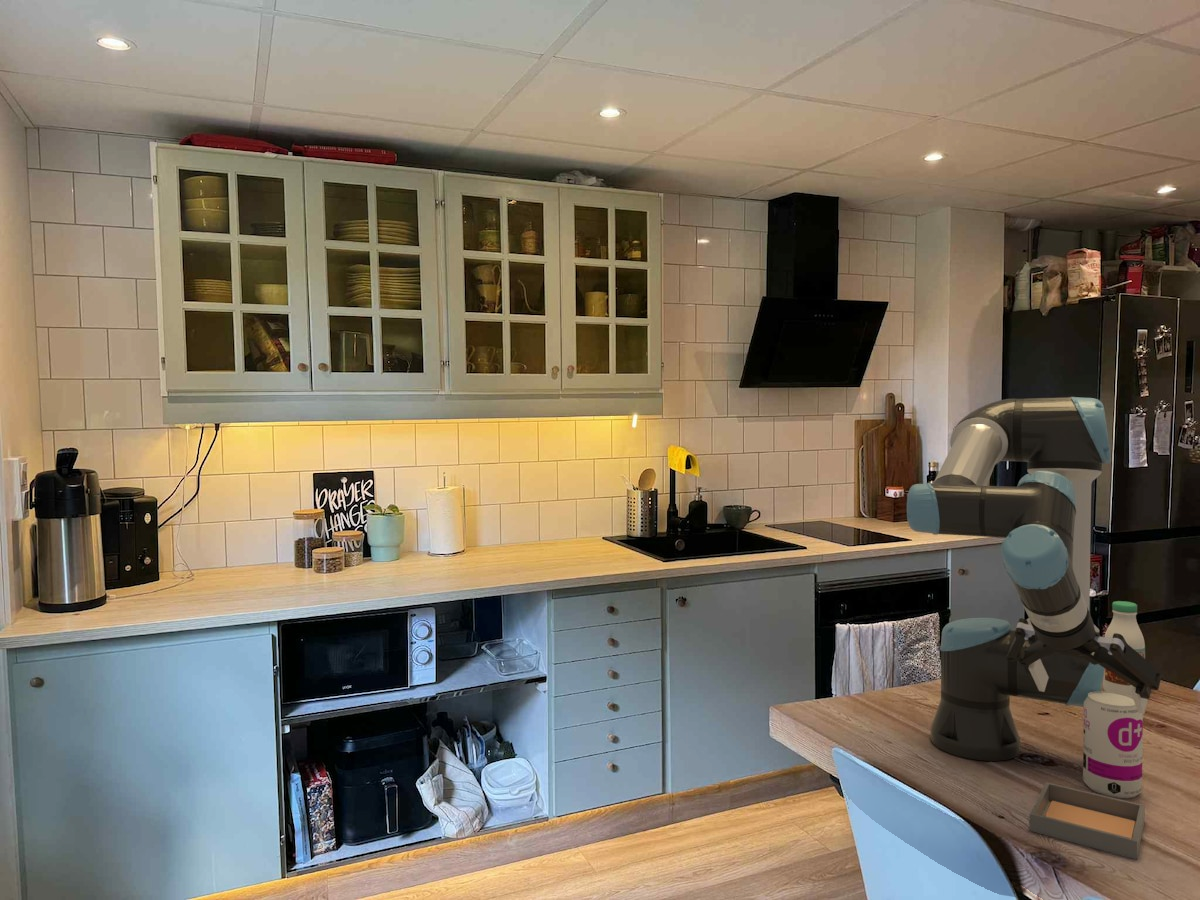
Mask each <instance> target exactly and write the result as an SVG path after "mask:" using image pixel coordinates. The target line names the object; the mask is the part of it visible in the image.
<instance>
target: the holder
mask: <svg viewBox="0 0 1200 900" xmlns="http://www.w3.org/2000/svg"><path fill="white" fill-rule="evenodd" d="M1050 801H1051V803H1050V804H1049V807H1048V803H1049V802H1050ZM1047 807H1048V809H1047V811H1046V814H1045V815H1044V812H1045V810H1046V808H1047ZM1145 810H1146V804H1142V803H1137V802H1134V801H1133V802H1132V801H1129V800H1124V799H1122V798H1116V797H1110V796H1106V795H1103V794H1100V793H1098V794H1097V793H1096V792H1095V793H1093V792H1091V791H1085V790H1082V789H1079V788H1078V789H1077V788H1073V787H1069V786H1064V785H1060V784H1056V783H1053V782H1047V781H1045V783H1044V785H1043V787H1042V789H1041V791H1040V793H1039V795H1038V797H1037V799H1036V801H1035V804H1034V805H1033V807H1032V809H1031V811H1030V814H1029V831H1030V832H1034V833H1038V834H1041V835H1045V836H1048V837H1052V838H1055V839H1060V840H1063V841H1067V842H1070V843H1073V844H1078V845H1080V846H1081V845H1082V846H1085V847H1089V848H1093V849H1096V850H1101V851H1105V852H1108V853H1112V854H1114V855H1118V856H1123V857H1125V858H1129V859H1134V860H1138V855H1139V851H1140V846H1141V845H1140V844H1141V841H1142V837H1143V830H1144V826H1145V819H1146V818H1145V816H1146V815H1145V813H1146V811H1145Z"/></svg>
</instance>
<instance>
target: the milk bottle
mask: <svg viewBox="0 0 1200 900" xmlns="http://www.w3.org/2000/svg"><path fill="white" fill-rule="evenodd" d="M1111 607H1112V611H1111V612H1112V613H1113V616H1112V619H1111V622H1110V624H1109V625H1108V627H1107V629H1106V631H1105V634H1104V637H1107V638H1112V637H1113V634H1115V633H1117V634H1121V635H1122V636H1123V637H1124V639H1125V641H1126V643H1127V644H1128V645H1129V646H1130V647H1132V648H1133V649H1134V650H1135V651H1136V652H1137V653H1139V654H1140V655H1141V656H1142V657H1143V658H1144V659H1146V644H1145V639H1144V636H1143V633H1142V630H1141V629H1140V626H1139V624H1138V622H1137V621H1138V620H1137V615H1138V604H1136V603H1134V602H1131V601H1126V600H1124V601H1122V600H1117V601H1113V602H1112V603H1111ZM1130 685H1131V684H1129V683H1127V682H1126V681H1124V680H1123V679H1121V678H1119V677H1118V676H1116V675H1115V674H1113V673H1112V672H1110V671H1108V670H1107V669H1105V671H1104V677H1103V683H1102V688H1103V691H1109V692H1116V693H1121V694H1125V695H1128V696H1131V697H1132V694H1131V691H1130V689H1129V688H1130Z"/></svg>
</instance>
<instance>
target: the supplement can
mask: <svg viewBox="0 0 1200 900" xmlns="http://www.w3.org/2000/svg"><path fill="white" fill-rule="evenodd" d="M1143 719H1144V714H1142V713H1138V710H1137V708H1136V705H1135V702H1134V700H1133V697H1131V696H1128V695H1125V694H1121V693H1116V692H1109V691H1104V690H1101V691H1094V692H1090V693H1089V694H1088V697H1087V698H1086V699H1085V701H1084V707H1083V730H1082V732H1083V734H1082V736H1083V737H1082V739H1083V741H1082V742H1083V748H1082V753H1083V754H1082V756H1083V757H1082V758H1083V761H1082V780H1083V782H1084V783H1085V785H1087V786H1088V788H1089V789H1090V790H1092V791H1094V792H1095V793H1098V794H1099V795H1104V796H1108V797H1112V798H1116V799H1131V798H1135V797H1136V796H1138V795H1140V793H1142V792H1143V744H1144V743H1143V738H1144V733H1143V732H1144V720H1143Z"/></svg>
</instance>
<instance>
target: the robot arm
mask: <svg viewBox="0 0 1200 900" xmlns="http://www.w3.org/2000/svg"><path fill="white" fill-rule="evenodd" d="M1107 425H1108V424H1107V419H1106V411H1105V406H1104V404H1103V402H1102V401H1101V400H1100V399H1097V398H1093V397H1076V396H1068V397H1067V396H1066V397H1038V398H1005V399H1000V400H997V401H992V402H990V403H987V404H985V405H983V406H981V407H979V408H977V409H975V410H974V411H972V412H970V413H968V414H967V415H965V416H964V417H963V418H962V419H960V421H958V423H957V424H956V426H955V427H954V429H953V431H952V433H951V436H950V440H949V441H950V442H949V443H950V449H949V452H948V453H947V455H946V457H945V460H944V461H943V463H942V465H941V467H940V469H939V471H938V473H937V475H936V476H935V479H934V480H933V483H931V482H925V483H916V484H912V485H911V487H910V488H909V491H908V494H907V499H906V518H907V519H906V520H907V523H908V527H910V529H911V530H912V531H914V532H917V533H925V534H932V535H935V536H937V535H945V536H946V535H949V536H952V535H953V536H969V537H987V538H1000V539H1003V541H1002V543H1001V546H1000V548H1001V549H1000V553H1001V557H1002V561H1003V566H1004V568H1005V570H1006V573H1007V575H1008V576H1009V578H1010V579H1011V581H1012V583H1013V586H1014V588H1015V590H1016V592H1017V595H1018V597H1019V598H1020V602H1021V603H1022V606H1023V608H1024V610H1025V612H1026V614H1027V617H1028V618H1027V619H1026V618H1022V617H1021V618H1018V622H1017V624H1016V628H1015V629H1014V630H1012V625H1011V624H1010V622H1009V621H1007V619H1006V620H1005V619H1002V618H1000V619H999V618H995V617H994V618H993V617H968V618H963V619H956V620H953V621H951V622H948V623H946V624H945V626H943V628H942V631H941V638H940V640H941V642H940V646H939V651H940V700H939V703H938V706H937V708H936V711H935V714H934V717H933V720H932V723H931V725H930V742H931V743H932V744H933V745H934V746H935V747H936V748H938V749H940V750H942V751H944V752H946V753H948V754H951V755H953V756H957V757H961V758H965V759H970V760H977V761H986V762H994V761H995V762H999V761H1007V760H1011V759H1014V758H1016V757H1017V756H1018V755H1020V753H1021V739H1020V736H1019V732H1018V730H1017V726H1016V723H1015V720H1014V717H1013V714H1012V711H1011V709H1010V708H1011V706H1010V696H1011V697H1017V698H1024V699H1029V700H1036V701H1037V700H1038V701H1043V702H1048V703H1054V704H1055V703H1056V704H1062V705H1065V706H1066V707H1069V706H1076V707H1083V708H1084V701H1085V699H1086V698H1087V697H1088V694H1089V693H1090V692H1094V691H1102V688H1103V677H1104V671H1105V669H1107V670H1108V671H1110V672H1112V673H1113V674H1115V675H1116V676H1118V677H1119V678H1121V679H1123V680H1124V681H1126V682H1127V683H1129V684H1131V685H1130V688H1129V689H1130V691H1131V694H1132V697H1133V700H1134V702H1135V705H1136V708H1137V710H1138V713H1142V714H1143V715H1145V712H1146V710H1147V704H1148V701H1149V699H1150V697H1151V693H1152V690H1153V691H1159V689H1160V684H1161V680H1162V676H1163V673H1162V672H1161V671H1160V670H1158V669H1157V668H1156V667H1155V666H1154V665H1153V664H1151V663H1150V662H1149V661H1148V660H1147V659H1146V658H1145V659H1144V658H1143V657H1142V656H1141V655H1140V654H1139V653H1137V652H1136V651H1135V650H1134V649H1133V648H1132V647H1130V646H1129V645H1128V644H1127V643H1126V641H1125V639H1124V637H1123V636H1122V635H1121V634H1117V633H1115V634H1113V637H1112V638H1107V637H1105V636H1102V635H1100V629H1099V628H1098V627H1097V626H1096V625H1095V624H1094V620H1093V618H1092V616H1091V613H1090V606H1091V605H1090V604H1091V603H1090V598H1091V597H1090V594H1091V593H1090V591H1091V590H1090V588H1091V526H1092V525H1091V523H1092V521H1091V520H1092V519H1091V518H1092V485H1093V484H1092V483H1093V481H1095V480H1096V479H1097V478H1099V476H1100V475H1101V474H1102V472H1103V469H1102V468H1103V467H1102V465H1103V464H1105V465H1107V464H1110V463H1112V455H1111V448H1110V441H1109V433H1108V426H1107ZM1000 462H1022V463H1023V462H1026V464H1027V465H1026V467H1027V469H1026V470H1027V474H1025V475H1024V476H1022V477H1021V478H1020V479H1019V481H1018V483H1017V486H1009V485H1008V486H1005V485H1003V486H1002V485H988V484H989V481H990V479H991V476H992V473H993V471H994V468H995V466H996V465H997V464H998V463H1000Z"/></svg>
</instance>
